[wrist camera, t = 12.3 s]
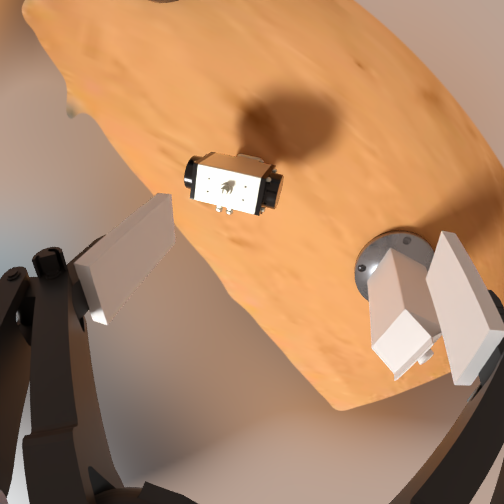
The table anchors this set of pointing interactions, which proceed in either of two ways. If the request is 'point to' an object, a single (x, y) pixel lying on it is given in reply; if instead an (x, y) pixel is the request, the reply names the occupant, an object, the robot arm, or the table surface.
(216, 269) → the table surface
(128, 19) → the table surface
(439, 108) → the table surface
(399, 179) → the table surface
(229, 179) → the pneumatic valve
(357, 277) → the duct flange
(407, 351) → the milk carton
